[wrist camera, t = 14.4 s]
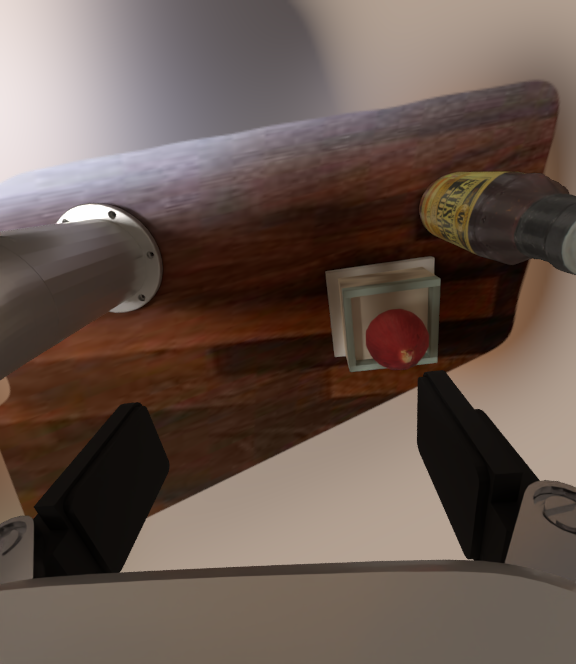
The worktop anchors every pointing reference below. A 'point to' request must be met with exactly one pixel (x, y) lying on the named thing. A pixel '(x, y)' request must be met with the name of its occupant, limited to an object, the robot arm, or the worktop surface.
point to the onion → (397, 339)
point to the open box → (381, 304)
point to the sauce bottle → (504, 216)
